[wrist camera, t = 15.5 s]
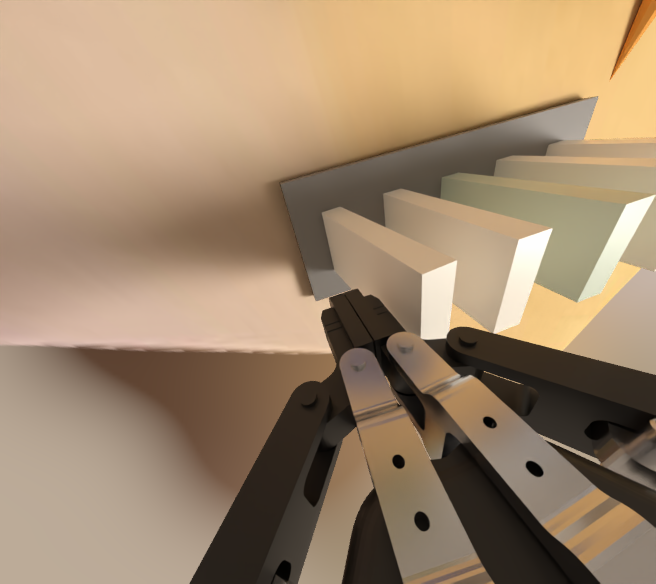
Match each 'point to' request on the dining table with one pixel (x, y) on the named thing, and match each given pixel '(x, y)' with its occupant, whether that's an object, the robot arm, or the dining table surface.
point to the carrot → (637, 29)
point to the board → (415, 177)
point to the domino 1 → (393, 271)
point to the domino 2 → (475, 252)
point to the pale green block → (561, 224)
